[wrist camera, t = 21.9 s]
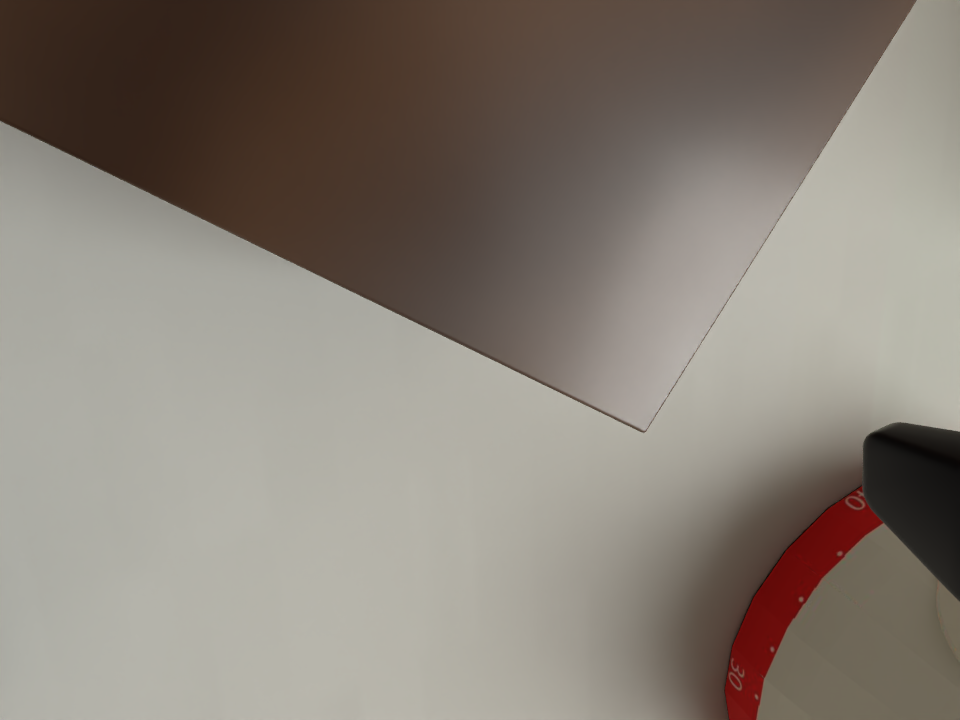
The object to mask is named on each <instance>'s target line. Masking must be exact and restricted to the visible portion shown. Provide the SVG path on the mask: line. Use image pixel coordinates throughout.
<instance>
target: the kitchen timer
mask: <svg viewBox="0 0 960 720" xmlns="http://www.w3.org/2000/svg"><path fill="white" fill-rule="evenodd" d="M725 695H726V701H727V708H728V715H729V720H960V602H959V601H958V600H957V599H956V598H955V597H954V596H953V595H952V594H951V593H950V592H949V591H948V590H947V589H946V588H945V587H944V586H943V585H942V583H941V582H940V581H939V580H938V579H937V578H936V577H935V576H934V575H933V574H932V573H931V572H930V571H929V570H928V569H927V568H926V567H925V566H924V565H923V564H922V563H921V562H920V560H919V559H918V558H917V557H916V556H915V555H914V554H913V553H912V552H911V551H910V550H909V549H908V548H907V547H906V546H905V545H904V544H903V543H902V542H901V541H900V540H899V538H898V537H897V536H896V535H895V534H894V533H893V532H892V531H891V530H890V529H889V528H888V527H887V526H886V525H885V524H884V523H883V522H882V521H881V520H880V519H879V518H878V517H877V515H876V514H875V513H874V512H873V511H872V510H871V509H870V507H869V506H868V504H867V502H866V500H865V498H864V494H863V489H862V486H861V487H860V488H858V489H857V490H855V491H854V492H852V493H851V494H849V495H848V496H846V497H845V498H843V499H842V500H840V501H839V502H837V503H836V504H834V505H833V506H831V507H830V508H828V509H827V510H826V511H825V512H824V513H823V514H822V515H821V516H820V517H819V518H818V519H817V520H816V521H815V522H814V523H813V524H812V525H811V526H810V527H809V528H808V529H807V530H806V531H805V532H804V533H803V534H802V535H801V536H800V537H799V538H798V539H797V540H796V541H795V542H794V543H793V544H792V545H791V546H790V547H789V548H788V549H787V550H786V552H785V553H784V554H783V556H782V557H781V559H780V560H779V562H778V563H777V564H776V566H775V567H774V569H773V570H772V572H771V573H770V575H769V576H768V577H767V579H766V580H765V582H764V583H763V585H762V586H761V588H760V589H759V590H758V592H757V593H756V595H755V596H754V598H753V600H752V602H751V605H750V607H749V609H748V612H747V614H746V616H745V618H744V621H743V623H742V625H741V628H740V630H739V632H738V634H737V637H736V639H735V641H734V644H733V646H732V652H731V658H730V663H729V669H728V675H727V680H726V686H725Z"/></svg>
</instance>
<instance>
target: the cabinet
mask: <svg viewBox="0 0 960 720" xmlns="http://www.w3.org/2000/svg"><path fill="white" fill-rule="evenodd" d="M915 2H916V0H0V121H2V122H4V123H6V124H8V125H10V126H12V127H14V128H16V129H18V130H20V131H22V132H24V133H26V134H28V135H31V136H33V137H35V138H37V139H39V140H41V141H43V142H45V143H47V144H49V145H51V146H53V147H55V148H57V149H59V150H61V151H63V152H66V153H68V154H70V155H72V156H74V157H76V158H78V159H80V160H82V161H84V162H86V163H88V164H90V165H92V166H94V167H96V168H98V169H101V170H103V171H105V172H107V173H109V174H111V175H113V176H115V177H117V178H119V179H121V180H123V181H125V182H127V183H129V184H131V185H133V186H136V187H138V188H140V189H142V190H144V191H146V192H148V193H150V194H152V195H154V196H156V197H158V198H160V199H162V200H164V201H166V202H168V203H171V204H173V205H175V206H177V207H179V208H181V209H183V210H185V211H187V212H189V213H191V214H193V215H195V216H197V217H199V218H201V219H203V220H206V221H208V222H210V223H212V224H214V225H216V226H218V227H220V228H222V229H224V230H226V231H228V232H230V233H232V234H234V235H236V236H238V237H241V238H243V239H245V240H247V241H249V242H251V243H253V244H255V245H257V246H259V247H261V248H263V249H265V250H267V251H269V252H271V253H273V254H276V255H278V256H280V257H282V258H284V259H286V260H288V261H290V262H292V263H294V264H296V265H298V266H300V267H302V268H304V269H306V270H308V271H311V272H313V273H315V274H317V275H319V276H321V277H323V278H325V279H327V280H329V281H331V282H333V283H335V284H337V285H339V286H341V287H343V288H346V289H348V290H350V291H352V292H354V293H356V294H358V295H360V296H362V297H364V298H366V299H368V300H370V301H372V302H374V303H376V304H378V305H381V306H383V307H385V308H387V309H389V310H391V311H393V312H395V313H397V314H399V315H401V316H403V317H405V318H407V319H409V320H411V321H413V322H416V323H418V324H420V325H422V326H424V327H426V328H428V329H430V330H432V331H434V332H436V333H438V334H440V335H442V336H444V337H446V338H448V339H451V340H453V341H455V342H457V343H459V344H461V345H463V346H465V347H467V348H469V349H471V350H473V351H475V352H477V353H479V354H481V355H483V356H486V357H488V358H490V359H492V360H494V361H496V362H498V363H500V364H502V365H504V366H506V367H508V368H510V369H512V370H514V371H516V372H518V373H521V374H523V375H525V376H527V377H529V378H531V379H533V380H535V381H537V382H539V383H541V384H543V385H545V386H547V387H549V388H551V389H553V390H556V391H558V392H560V393H562V394H564V395H566V396H568V397H570V398H572V399H574V400H576V401H578V402H580V403H582V404H584V405H586V406H588V407H591V408H593V409H595V410H597V411H599V412H601V413H603V414H605V415H607V416H609V417H611V418H613V419H615V420H617V421H619V422H621V423H623V424H626V425H628V426H630V427H632V428H634V429H636V430H638V431H640V432H646V430H647V429H648V427H649V426H650V424H651V422H652V421H653V419H654V418H655V416H656V414H657V413H658V411H659V410H660V408H661V406H662V405H663V403H664V402H665V400H666V398H667V397H668V395H669V394H670V392H671V391H672V389H673V387H674V386H675V384H676V383H677V381H678V379H679V378H680V376H681V375H682V373H683V371H684V370H685V368H686V367H687V365H688V363H689V362H690V360H691V359H692V357H693V356H694V354H695V352H696V351H697V349H698V348H699V346H700V344H701V343H702V341H703V340H704V338H705V336H706V335H707V333H708V332H709V330H710V328H711V327H712V325H713V324H714V322H715V320H716V319H717V317H718V316H719V314H720V313H721V311H722V309H723V308H724V306H725V305H726V303H727V301H728V300H729V298H730V297H731V295H732V293H733V292H734V290H735V289H736V287H737V285H738V284H739V282H740V281H741V279H742V278H743V276H744V274H745V273H746V271H747V270H748V268H749V266H750V265H751V263H752V262H753V260H754V258H755V257H756V255H757V254H758V252H759V250H760V249H761V247H762V246H763V244H764V242H765V241H766V239H767V238H768V236H769V235H770V233H771V231H772V230H773V228H774V227H775V225H776V223H777V222H778V220H779V219H780V217H781V215H782V214H783V212H784V211H785V209H786V207H787V206H788V204H789V203H790V201H791V199H792V198H793V196H794V195H795V193H796V192H797V190H798V188H799V187H800V185H801V184H802V182H803V180H804V179H805V177H806V176H807V174H808V172H809V171H810V169H811V168H812V166H813V164H814V163H815V161H816V160H817V158H818V157H819V155H820V153H821V152H822V150H823V149H824V147H825V145H826V144H827V142H828V141H829V139H830V137H831V136H832V134H833V133H834V131H835V129H836V128H837V126H838V125H839V123H840V121H841V120H842V118H843V117H844V115H845V114H846V112H847V110H848V109H849V107H850V106H851V104H852V102H853V101H854V99H855V98H856V96H857V94H858V93H859V91H860V90H861V88H862V86H863V85H864V83H865V82H866V80H867V78H868V77H869V75H870V74H871V72H872V71H873V69H874V67H875V66H876V64H877V63H878V61H879V59H880V58H881V56H882V55H883V53H884V51H885V50H886V48H887V47H888V45H889V43H890V42H891V40H892V39H893V37H894V36H895V34H896V32H897V31H898V29H899V28H900V26H901V24H902V23H903V21H904V20H905V18H906V16H907V15H908V13H909V12H910V10H911V8H912V7H913V5H914V4H915Z"/></svg>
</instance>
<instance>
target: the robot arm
mask: <svg viewBox="0 0 960 720" xmlns="http://www.w3.org/2000/svg"><path fill="white" fill-rule="evenodd" d="M862 489H863V494H864V498H865V500H866V502H867V504H868V506H869V507H870V509H871V510H872V511H873V512H874V513H875V514H876V515H877V517H878V518H879V519H880V520H881V521H882V522H883V523H884V524H885V525H886V526H887V527H888V528H889V529H890V530H891V531H892V532H893V533H894V534H895V535H896V536H897V537H898V538H899V540H900V541H901V542H902V543H903V544H904V545H905V546H906V547H907V548H908V549H909V550H910V551H911V552H912V553H913V554H914V555H915V556H916V557H917V558H918V559H919V560H920V562H921V563H922V564H923V565H924V566H925V567H926V568H927V569H928V570H929V571H930V572H931V573H932V574H933V575H934V576H935V577H936V578H937V579H938V580H939V581H940V582H941V583H942V585H943V586H944V587H945V588H946V589H947V590H948V591H949V592H950V593H951V594H952V595H953V596H954V597H955V598H956V599H957V600H958V601H959V602H960V432H958V431H952V430H946V429H939V428H933V427H927V426H921V425H914V424H908V423H901V422H898V423H892V424H889V425H887V426H885V427H883V428H881V429H879V430H876V431H874V432H872V433H870V434H869V435H868V436H867V437H866V439H865V441H864V443H863V481H862Z"/></svg>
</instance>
